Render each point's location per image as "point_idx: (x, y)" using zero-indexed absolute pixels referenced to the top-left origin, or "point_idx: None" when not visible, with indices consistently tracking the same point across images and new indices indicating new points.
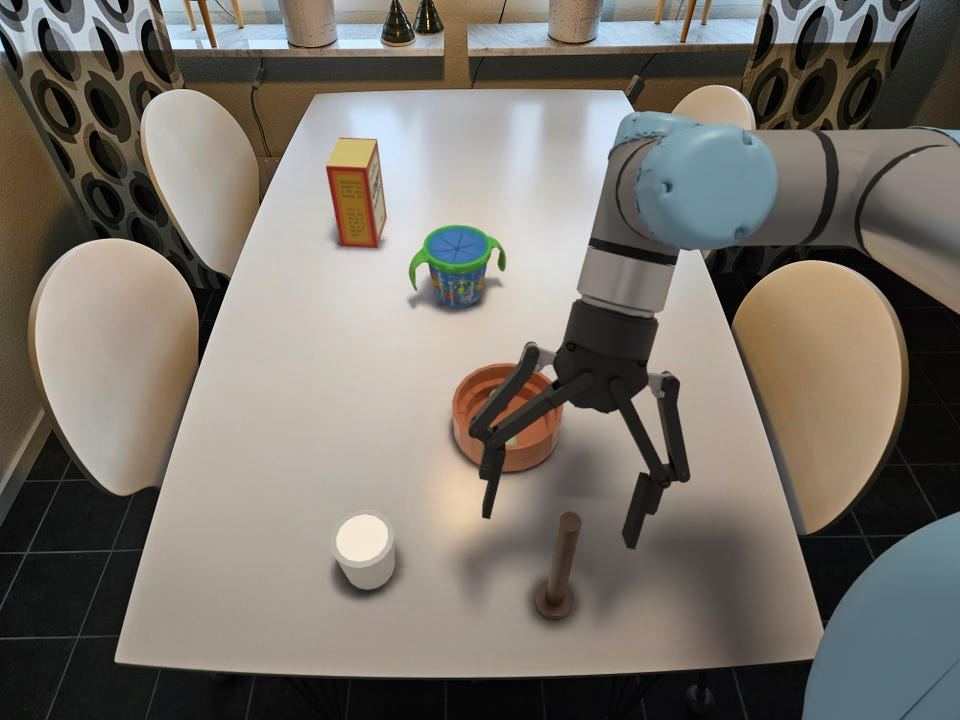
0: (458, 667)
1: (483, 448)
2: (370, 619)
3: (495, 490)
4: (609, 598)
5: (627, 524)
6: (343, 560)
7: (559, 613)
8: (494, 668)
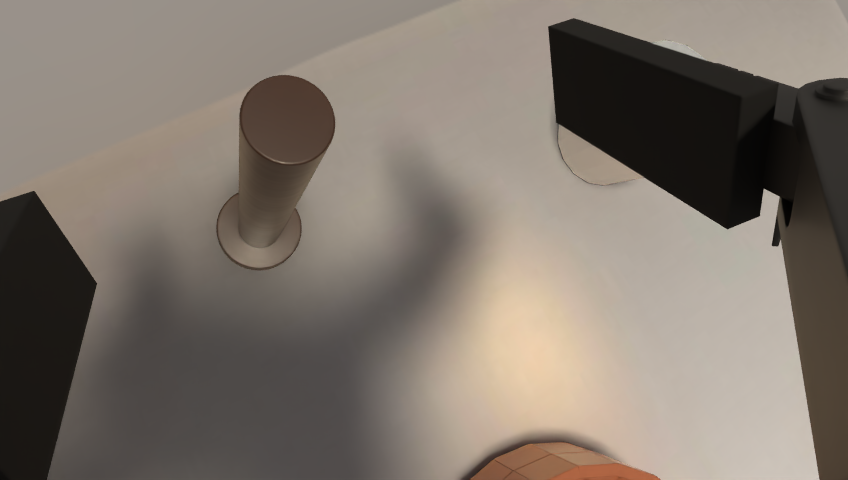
0: (371, 40)
1: (578, 460)
2: (543, 58)
3: (619, 47)
4: (141, 296)
5: (65, 287)
6: (675, 46)
7: (235, 198)
8: (311, 61)
